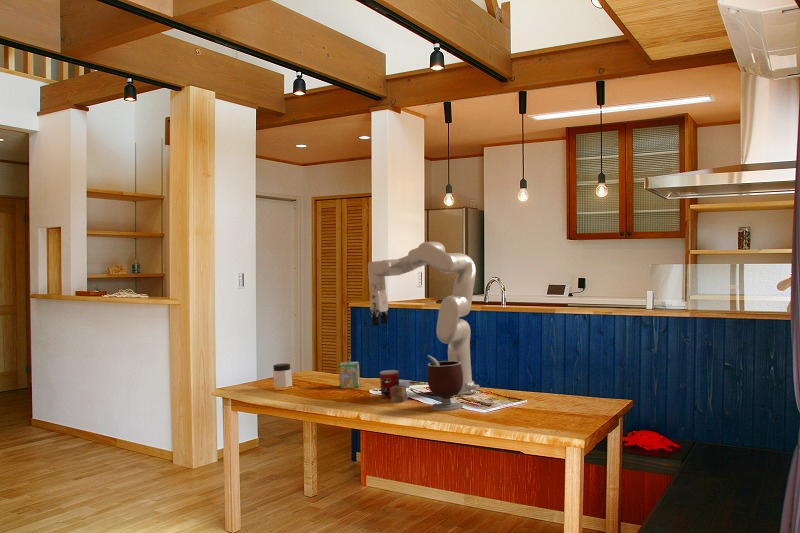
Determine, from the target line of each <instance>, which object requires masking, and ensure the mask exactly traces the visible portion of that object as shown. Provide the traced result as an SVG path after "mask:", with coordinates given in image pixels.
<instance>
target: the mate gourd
mask: <svg viewBox="0 0 800 533" xmlns="http://www.w3.org/2000/svg"><path fill="white" fill-rule="evenodd" d="M426 357H427V358H429V360H431V362H429V363H427V368H426V369H427V370H426V379H427V384H428V385H427V386H428V388H429V390H430V391H431V393H432V394H433V395H434V396H436V397H439V398H441V399H442V402H439V403H435V404H432V405H431V406H430V407H431V410H433V411H439V412H446V411H447V412H450V411H457V410H460V409H463V408H464V404H463V403H461V402H453V401H452V400H451V398H452V397H454V396H456V394H458V393H459V392H460V390H461V389H462V385H463V371H462V366H461V362H458V361H448V360H443V361H441V360H440V361H438V360H437V359H436V358H435V357H433V356H431V355H430V354H427V356H426Z"/></svg>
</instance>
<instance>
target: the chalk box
mask: <svg viewBox="0 0 800 533" xmlns="http://www.w3.org/2000/svg"><path fill="white" fill-rule="evenodd" d="M351 356H352V355H350V356H349V357H348V361H341V362H339V364H338V377H339V389H340V390H341V389H345V390H346V389H359V387H360V385H361V379H360V362H359V361H351Z"/></svg>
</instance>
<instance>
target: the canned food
mask: <svg viewBox="0 0 800 533" xmlns="http://www.w3.org/2000/svg"><path fill="white" fill-rule="evenodd" d="M399 380H400V377H399V370H396V369H388V370H387V369H386V370H382V371H379V381H380V394H381V398H382V399H390V400H392V399H391V387H393V386H399Z"/></svg>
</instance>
